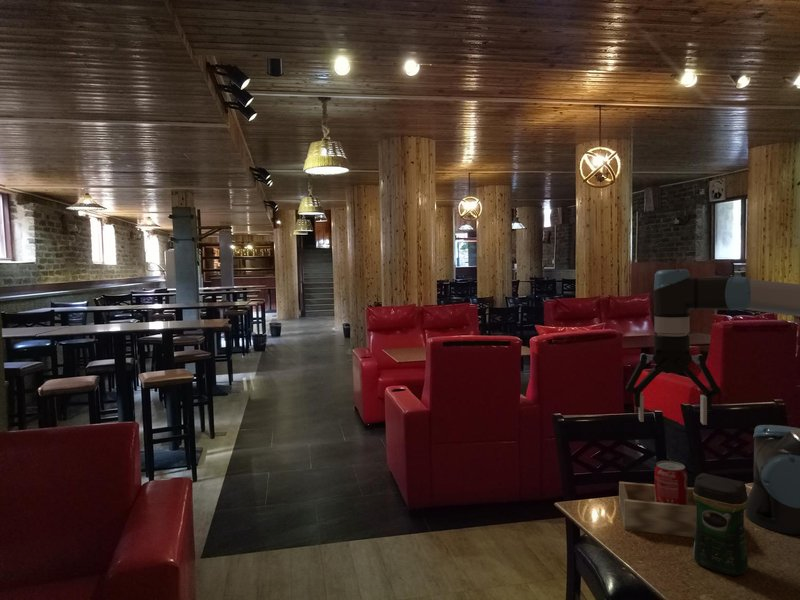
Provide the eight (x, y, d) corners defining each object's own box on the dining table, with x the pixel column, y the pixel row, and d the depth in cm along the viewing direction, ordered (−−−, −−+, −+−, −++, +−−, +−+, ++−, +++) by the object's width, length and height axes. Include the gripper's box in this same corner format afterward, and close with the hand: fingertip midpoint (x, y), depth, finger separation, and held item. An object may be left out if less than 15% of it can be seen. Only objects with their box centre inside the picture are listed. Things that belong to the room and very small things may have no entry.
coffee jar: (751, 565, 111) (752, 478, 110) (741, 581, 105) (742, 489, 104) (700, 549, 117) (700, 466, 116) (688, 563, 112) (688, 477, 111)
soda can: (691, 525, 125) (692, 471, 125) (659, 523, 127) (659, 469, 126) (682, 511, 132) (682, 460, 132) (651, 510, 134) (651, 459, 133)
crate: (714, 517, 132) (714, 489, 132) (729, 541, 121) (729, 510, 120) (619, 507, 138) (619, 481, 138) (624, 529, 127) (624, 500, 127)
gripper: (726, 332, 127) (725, 420, 128) (614, 332, 134) (614, 415, 135) (736, 336, 120) (735, 429, 121) (617, 335, 127) (617, 423, 128)
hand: (671, 421), depth 128 cm, fingers open, 13 cm apart
